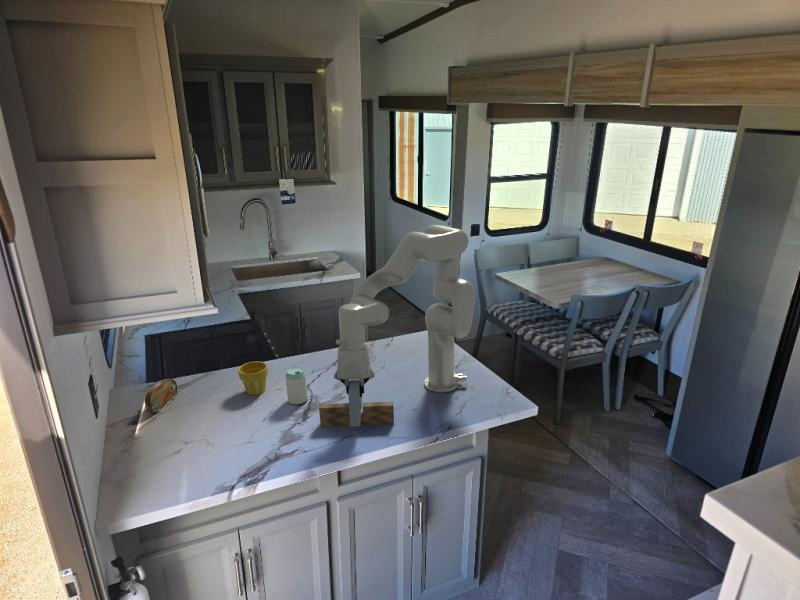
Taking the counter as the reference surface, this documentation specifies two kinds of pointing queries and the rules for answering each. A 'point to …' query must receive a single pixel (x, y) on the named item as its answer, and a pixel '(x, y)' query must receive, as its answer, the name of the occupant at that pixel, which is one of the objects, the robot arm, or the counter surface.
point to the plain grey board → (354, 402)
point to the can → (296, 385)
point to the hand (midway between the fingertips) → (355, 394)
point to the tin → (160, 395)
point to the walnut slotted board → (370, 416)
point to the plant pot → (253, 377)
